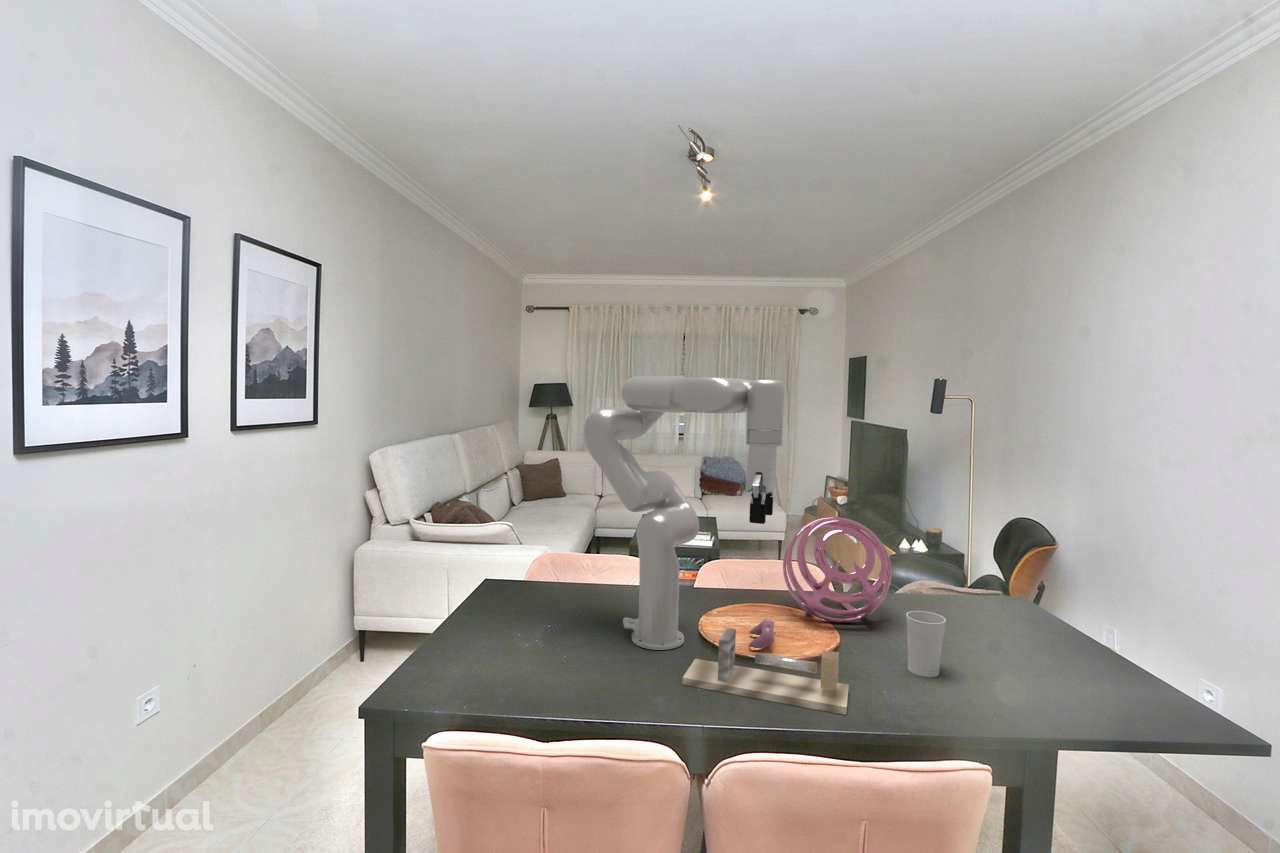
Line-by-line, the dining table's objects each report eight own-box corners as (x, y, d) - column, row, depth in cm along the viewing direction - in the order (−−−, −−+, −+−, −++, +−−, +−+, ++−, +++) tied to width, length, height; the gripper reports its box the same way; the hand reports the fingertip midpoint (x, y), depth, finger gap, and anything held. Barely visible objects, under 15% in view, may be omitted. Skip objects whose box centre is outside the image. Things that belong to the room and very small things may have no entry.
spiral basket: (791, 526, 196) (804, 487, 172) (885, 556, 189) (912, 520, 165) (766, 612, 183) (776, 584, 160) (866, 648, 176) (892, 623, 153)
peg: (753, 676, 129) (754, 646, 129) (757, 668, 133) (758, 639, 133) (836, 690, 124) (837, 660, 123) (837, 681, 128) (838, 652, 127)
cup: (941, 666, 143) (943, 613, 142) (945, 681, 136) (948, 625, 135) (902, 660, 146) (905, 608, 145) (904, 675, 138) (907, 620, 138)
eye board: (682, 684, 131) (683, 636, 131) (695, 665, 141) (696, 620, 140) (846, 715, 120) (848, 663, 120) (848, 691, 130) (850, 643, 129)
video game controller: (764, 659, 148) (779, 634, 147) (746, 649, 149) (761, 624, 148) (764, 643, 158) (778, 619, 157) (747, 633, 159) (761, 610, 158)
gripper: (753, 435, 145) (751, 510, 146) (738, 440, 128) (735, 524, 129) (787, 436, 142) (784, 513, 143) (776, 442, 126) (773, 528, 127)
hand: (761, 518), depth 136 cm, fingers open, 9 cm apart
